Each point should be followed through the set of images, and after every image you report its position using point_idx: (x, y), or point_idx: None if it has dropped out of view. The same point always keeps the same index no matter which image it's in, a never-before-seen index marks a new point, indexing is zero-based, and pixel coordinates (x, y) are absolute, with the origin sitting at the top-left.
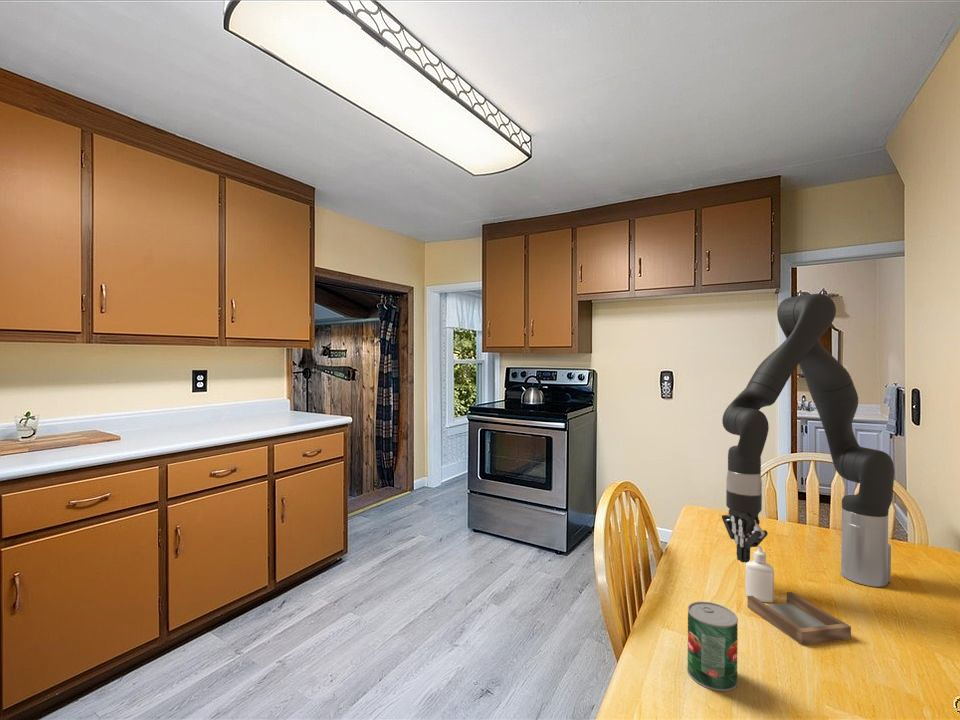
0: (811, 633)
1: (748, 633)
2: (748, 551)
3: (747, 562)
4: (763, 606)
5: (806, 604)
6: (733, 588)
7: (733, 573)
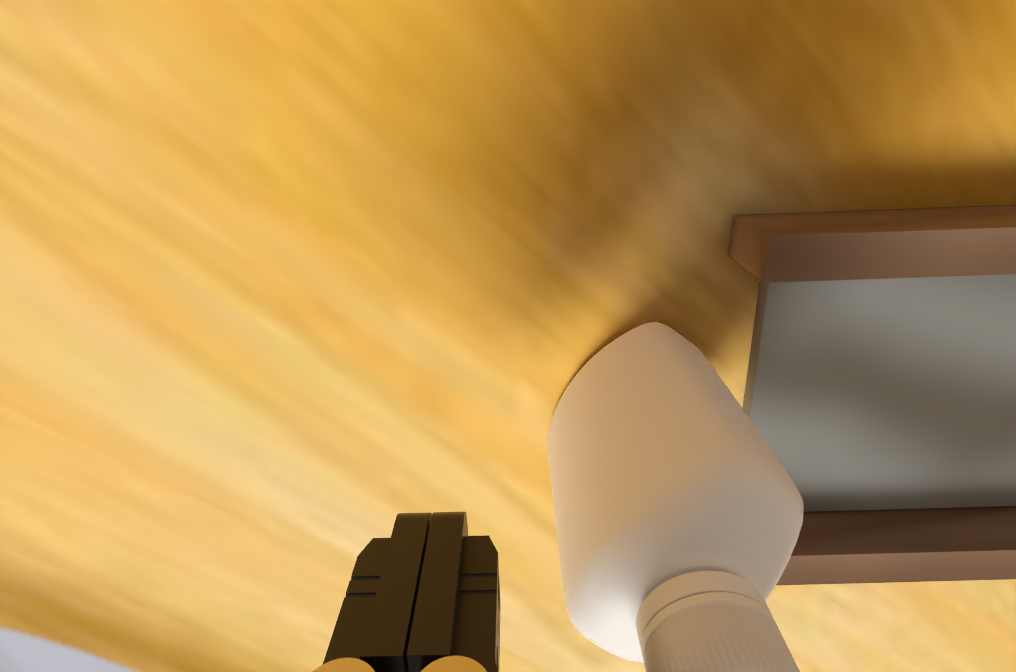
0: None
1: (901, 667)
2: (496, 646)
3: (598, 644)
4: (863, 581)
5: (964, 272)
6: (461, 463)
7: (215, 312)
